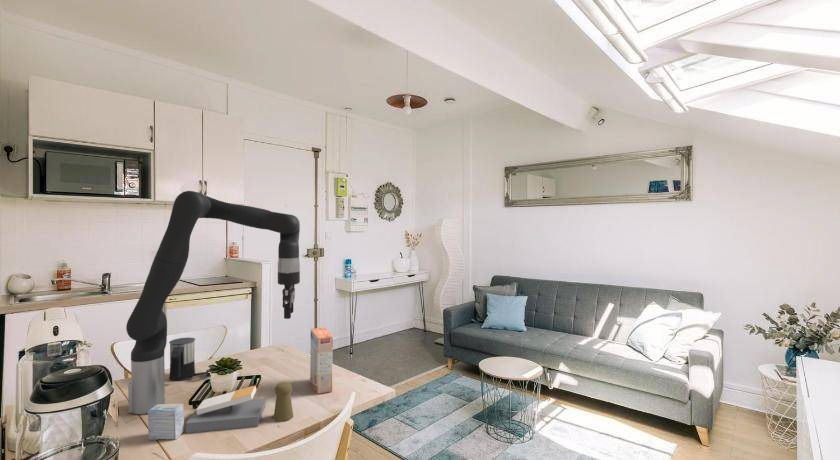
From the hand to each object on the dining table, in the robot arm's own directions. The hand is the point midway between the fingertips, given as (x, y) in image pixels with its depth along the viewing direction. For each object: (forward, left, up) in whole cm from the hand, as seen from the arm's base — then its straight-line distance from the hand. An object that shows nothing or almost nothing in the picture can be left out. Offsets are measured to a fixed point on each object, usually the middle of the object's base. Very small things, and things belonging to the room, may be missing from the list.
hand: (288, 315), depth 141 cm
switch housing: (-17, -13, -29) cm, 36 cm away
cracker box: (+11, +7, -30) cm, 32 cm away
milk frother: (-40, +26, -30) cm, 56 cm away
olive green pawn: (0, -15, -30) cm, 33 cm away
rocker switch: (-17, -13, -24) cm, 32 cm away
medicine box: (-32, -20, -30) cm, 48 cm away
